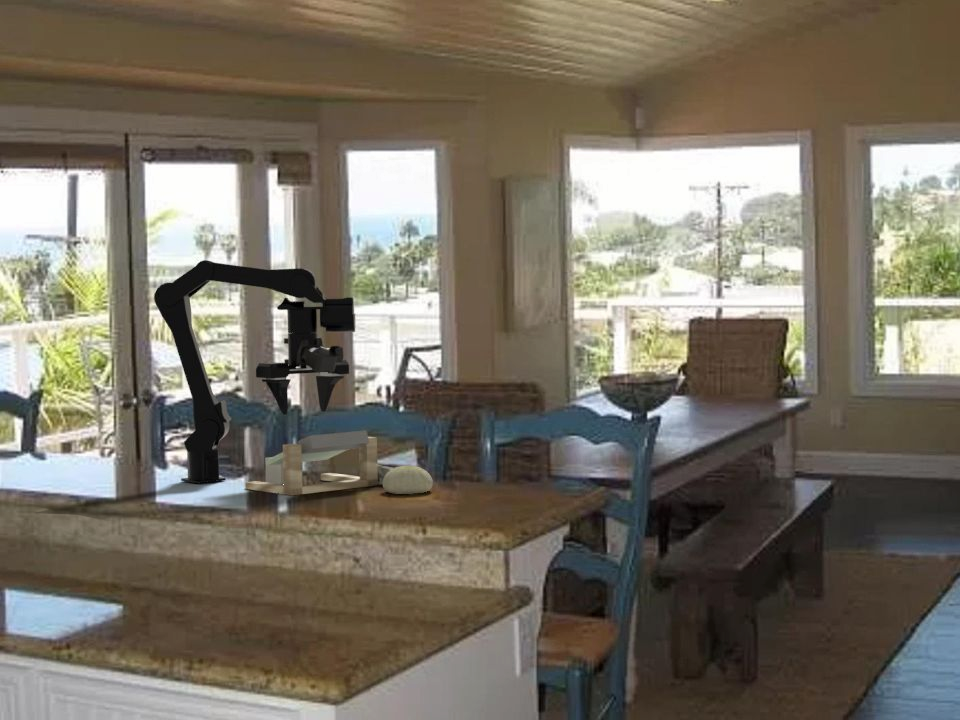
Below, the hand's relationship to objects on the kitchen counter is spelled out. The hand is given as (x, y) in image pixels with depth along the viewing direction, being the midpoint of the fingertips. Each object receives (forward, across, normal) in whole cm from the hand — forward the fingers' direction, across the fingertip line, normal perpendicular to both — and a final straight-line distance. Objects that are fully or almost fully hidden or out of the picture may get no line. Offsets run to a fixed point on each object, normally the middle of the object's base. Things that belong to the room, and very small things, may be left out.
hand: (304, 413), depth 303 cm
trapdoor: (+7, -6, -13) cm, 16 cm away
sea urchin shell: (+13, +1, -30) cm, 33 cm away
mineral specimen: (+14, +7, -20) cm, 25 cm away
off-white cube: (+8, -6, -1) cm, 10 cm away
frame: (+13, -6, -11) cm, 18 cm away
